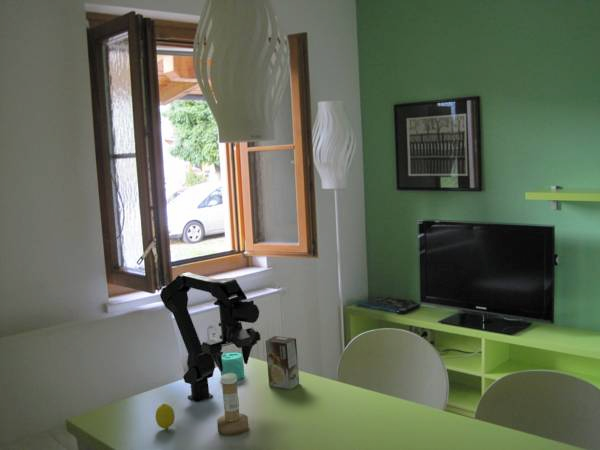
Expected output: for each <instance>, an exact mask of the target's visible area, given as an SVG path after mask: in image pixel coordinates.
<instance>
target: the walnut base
mask: <svg viewBox="0 0 600 450" xmlns="http://www.w3.org/2000/svg"><path fill="white" fill-rule="evenodd" d="M239 415H240V419H239V420H237V421H234V422H228V421H226V420H225V414H224V415H221V416H219V418H217V420H216V422H217V433H218V432H219V433H218V434H220V435H221V436H223V437H224V436H225V437H234V436H235V437H236V436H239V435H242V434H244V433H246V432H247V431H248V430H249V417H248V416H247V414H245V413H240V412H239Z"/></svg>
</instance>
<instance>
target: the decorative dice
mask: <svg viewBox="0 0 600 450" xmlns="http://www.w3.org/2000/svg"><path fill="white" fill-rule="evenodd" d="M222 365H223V371H222V372H221V371H220V370H219V371H220V377H221V376H222V375H224V374H227V373H234V374H236V375H237V381H239V380H240V381H241V380H242V379H243V378H244V377H245V367H244V366H245V363H244V360H243V355H242V354H241V353H240V352H226V353H223V354H222Z"/></svg>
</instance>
